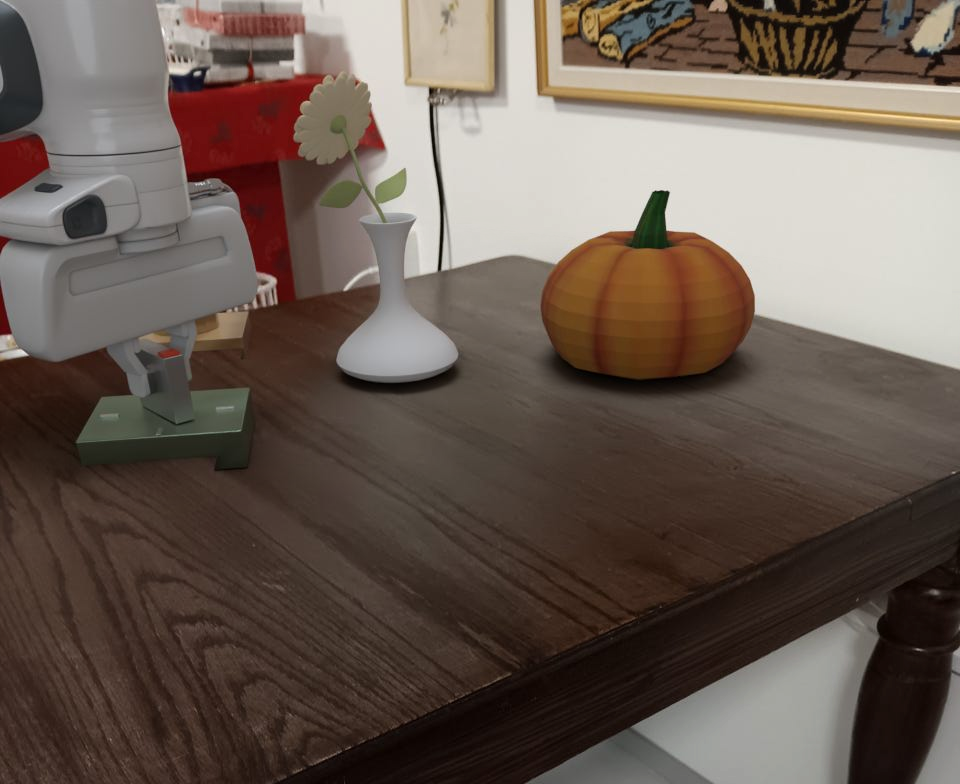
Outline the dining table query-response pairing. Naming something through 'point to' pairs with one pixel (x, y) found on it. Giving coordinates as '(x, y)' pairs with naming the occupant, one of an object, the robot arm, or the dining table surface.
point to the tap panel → (170, 431)
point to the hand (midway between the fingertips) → (162, 388)
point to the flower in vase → (394, 324)
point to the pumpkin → (647, 301)
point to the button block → (215, 333)
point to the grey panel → (167, 382)
